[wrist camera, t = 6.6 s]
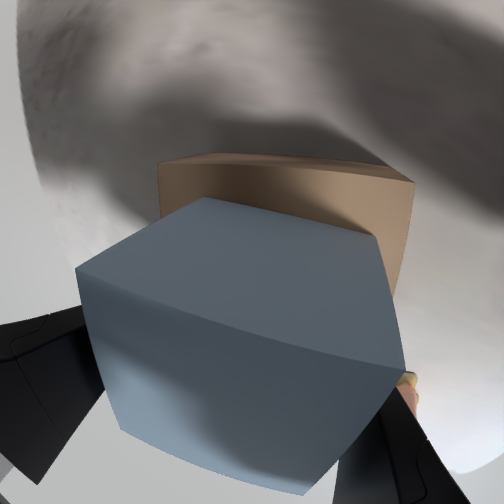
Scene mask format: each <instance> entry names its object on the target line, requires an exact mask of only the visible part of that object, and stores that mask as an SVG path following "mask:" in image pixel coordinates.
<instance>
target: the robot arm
mask: <svg viewBox="0 0 504 504" xmlns="http://www.w3.org/2000/svg"><path fill="white" fill-rule="evenodd" d="M104 390H105V387H104V384H103V381H102V378H101V375H100V372H99V369H98V365H97V362H96V359H95V355H94V352H93V348H92V345H91V341H90V337H89V333H88V330H87V326H86V321H85V317H84V313H83V308H82V305H80V306H76V307H72V308H69V309H65V310H61V311H58V312H54V313H51V314H50V315H49V314H47V315H43V316H39V317H36V318H32V319H28V320H23V321H18V322H13V323H8V324H3V325H0V482H1V480H3V479H4V477H5V476H6V475H7V474H8V473H9V472H10V470H11V469H12V468H13V467H14V466H15V467H16V468H17V469H18V470H19V471H21V472H22V473H23V474H24V475H25V476H26V477H28V478H29V479H30V480H32V481H33V482H34V483H35V484H36V485H38V484H39V483H40V481H41V480H42V478H43V477H44V475H45V474H46V472H47V471H48V469H49V468H50V466H51V465H52V463H53V462H54V461H55V459H56V458H57V456H58V455H59V453H60V452H61V450H62V449H63V448H64V446H65V445H66V443H67V442H68V440H69V439H70V437H71V436H72V435H73V433H74V432H75V430H76V429H77V428H78V426H79V425H80V423H81V422H82V421H83V419H84V418H85V416H86V415H87V414H88V412H89V411H90V409H91V408H92V407H93V405H94V404H95V403H96V401H97V400H98V399H99V397H100V396H101V394H102V393H103V392H104ZM0 504H10V503H9V502H8V501H7V500H6V499H5V498H4V497H3V496H2V495H1V494H0ZM332 504H471V503H470V502H469V500H468V499H467V497H466V496H465V495H464V493H463V492H462V490H461V489H460V487H459V486H458V485H457V483H456V482H455V480H454V479H453V478H452V476H451V475H450V473H449V472H448V470H447V469H446V467H445V466H444V464H443V463H442V461H441V460H440V458H439V456H438V455H437V453H436V451H435V450H434V448H433V446H432V445H431V443H430V441H429V440H427V436H426V434H425V433H424V431H423V429H422V428H421V426H420V424H419V423H418V421H417V419H416V418H415V416H414V414H413V413H412V411H411V409H410V408H409V406H408V404H407V403H406V401H405V400H404V398H403V396H402V395H401V393H400V392H399V390H398V388H397V387H396V386H395V387H394V389H393V390H392V392H391V393H390V395H389V396H388V398H387V399H386V400H385V402H384V403H383V405H382V406H381V407H380V409H379V410H378V412H377V413H376V414H375V416H374V417H373V418H372V420H371V421H370V422H369V423H368V425H367V426H366V427H365V429H364V430H363V431H362V432H361V434H360V435H359V436H358V437H357V438H356V440H355V441H354V442H353V443H352V444H351V446H350V447H349V448H348V449H347V450H346V451H345V453H344V454H343V455H342V456H341V457H340V458H339V463H338V471H337V478H336V485H335V491H334V497H333V503H332Z"/></svg>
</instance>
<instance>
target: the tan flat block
mask: <svg viewBox="0 0 504 504" xmlns="http://www.w3.org/2000/svg"><path fill="white" fill-rule="evenodd" d="M158 184H159V200H160V214H161V219H162V218H164V217H165V216H167V215H169V214H171V213H173V212H175V211H177V210H179V209H181V208H183V207H185V206H187V205H189V204H190V203H192V202H194V201H196V200H198V199H200V198H202V197H208V198H213V199H218V200H223V201H228V202H232V203H237V204H242V205H247V206H251V207H256V208H260V209H265V210H269V211H274V212H278V213H283V214H287V215H291V216H296V217H300V218H304V219H308V220H313V221H317V222H321V223H325V224H329V225H333V226H337V227H341V228H345V229H349V230H353V231H357V232H360V233H364V234H368V235H372V236H376V238H377V242H378V245H379V249H380V252H381V256H382V259H383V263H384V267H385V271H386V274H387V278H388V282H389V286H390V291H391V295H392V299H393V295H394V292H395V288H396V284H397V280H398V276H399V272H400V267H401V263H402V259H403V254H404V249H405V244H406V239H407V234H408V229H409V223H410V217H411V211H412V205H413V198H414V191H415V182H413V181H412V180H410V179H409V178H407V177H406V176H404V175H403V174H401V173H400V172H398V171H396V170H395V169H393V168H392V167H387V166H381V165H374V164H366V163H359V162H350V161H342V160H333V159H322V158H311V157H299V156H285V155H267V154H242V153H207V154H201V155H196V156H191V157H186V158H182V159H177V160H172V161H168V162H163V163H159V164H158Z"/></svg>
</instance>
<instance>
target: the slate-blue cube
mask: <svg viewBox="0 0 504 504" xmlns="http://www.w3.org/2000/svg"><path fill="white" fill-rule="evenodd" d="M75 272H76V278H77V283H78V288H79V294H80V299H81V303H82V308H83V313H84V317H85V321H86V326H87V330H88V333H89V337H90V341H91V345H92V348H93V352H94V355H95V359H96V362H97V365H98V369H99V372H100V375H101V378H102V381H103V384H104V387H105V390H106V392H107V395H108V398H109V401H110V403H111V406H112V409H113V411H114V414H115V416H116V419H117V421H118V424H119V426H120V429H121V430H123V431H125V432H127V433H129V434H130V435H132V436H134V437H136V438H138V439H140V440H142V441H144V442H146V443H148V444H150V445H152V446H154V447H156V448H158V449H160V450H162V451H164V452H166V453H169V454H171V455H173V456H175V457H178V458H180V459H182V460H185V461H187V462H190V463H192V464H195V465H197V466H200V467H202V468H205V469H208V470H210V471H213V472H216V473H219V474H222V475H225V476H228V477H231V478H234V479H237V480H240V481H244V482H247V483H250V484H254V485H258V486H261V487H265V488H269V489H273V490H277V491H282V492H286V493H291V494H296V495H301V496H303V495H304V494H305V493H306V492H307V491H308V490H309V489H310V488H311V487H312V486H313V485H314V484H315V483H317V481H318V480H319V479H320V478H321V477H322V476H323V475H324V474H325V473H326V472H327V471H328V470H329V469H330V468H331V467H332V466H333V465H334V464H335V463H336V462H337V460H338V459H339V458H340V457H341V456H342V455H343V454H344V453H345V451H346V450H347V449H348V448H349V447H350V446H351V444H352V443H353V442H354V441H355V440H356V438H357V437H358V436H359V435H360V434H361V432H362V431H363V430H364V429H365V427H366V426H367V425H368V423H369V422H370V421H371V420H372V418H373V417H374V416H375V414H376V413H377V412H378V410H379V409H380V407H381V406H382V405H383V403H384V402H385V400H386V399H387V398H388V396H389V395H390V393H391V392H392V390H393V389H394V387H395V386H396V384H397V383H398V381H399V380H400V378H401V377H402V375H403V374H404V372H405V370H406V368H405V361H404V355H403V349H402V343H401V338H400V332H399V327H398V322H397V317H396V313H395V308H394V304H393V299H392V295H391V291H390V286H389V282H388V278H387V274H386V271H385V267H384V263H383V259H382V256H381V252H380V249H379V245H378V242H377V238H376V236H372V235H368V234H364V233H360V232H357V231H353V230H349V229H345V228H341V227H337V226H333V225H329V224H325V223H321V222H317V221H313V220H308V219H304V218H300V217H296V216H291V215H287V214H283V213H278V212H274V211H269V210H265V209H260V208H256V207H251V206H247V205H242V204H237V203H232V202H228V201H223V200H218V199H213V198H208V197H202V198H200V199H198V200H196V201H194V202H192V203H190V204H189V205H187V206H185V207H183V208H181V209H179V210H177V211H175V212H173V213H171V214H169V215H167V216H165V217H164V218H162V219H160V220H158V221H156V222H154V223H152V224H151V225H149V226H147V227H145V228H143V229H141V230H140V231H138V232H136V233H134V234H132V235H131V236H129V237H127V238H125V239H124V240H122V241H120V242H118V243H117V244H115V245H113V246H111V247H110V248H108V249H106V250H105V251H103V252H101V253H100V254H98V255H96V256H95V257H93V258H91V259H90V260H88V261H86V262H85V263H83V264H81V265H80V266H78V267H76V268H75Z"/></svg>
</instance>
